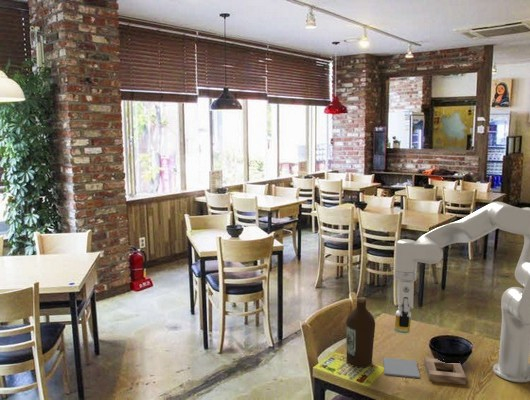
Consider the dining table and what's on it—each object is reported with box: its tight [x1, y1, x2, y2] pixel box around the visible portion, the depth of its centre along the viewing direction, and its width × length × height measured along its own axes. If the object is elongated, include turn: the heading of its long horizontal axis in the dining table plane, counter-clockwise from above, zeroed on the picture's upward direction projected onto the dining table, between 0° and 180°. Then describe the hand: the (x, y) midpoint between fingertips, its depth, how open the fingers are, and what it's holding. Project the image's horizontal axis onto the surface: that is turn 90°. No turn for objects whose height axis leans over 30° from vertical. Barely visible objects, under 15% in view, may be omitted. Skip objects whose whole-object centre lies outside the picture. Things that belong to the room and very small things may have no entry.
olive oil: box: [345, 296, 376, 368], centre depth 175 cm, size 11×11×25 cm
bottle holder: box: [424, 357, 467, 385], centre depth 168 cm, size 12×12×2 cm
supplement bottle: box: [393, 305, 412, 335], centre depth 169 cm, size 5×5×10 cm
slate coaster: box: [382, 357, 421, 379], centre depth 172 cm, size 12×12×1 cm
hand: (402, 322), depth 169 cm, fingers closed on supplement bottle, 5 cm apart
